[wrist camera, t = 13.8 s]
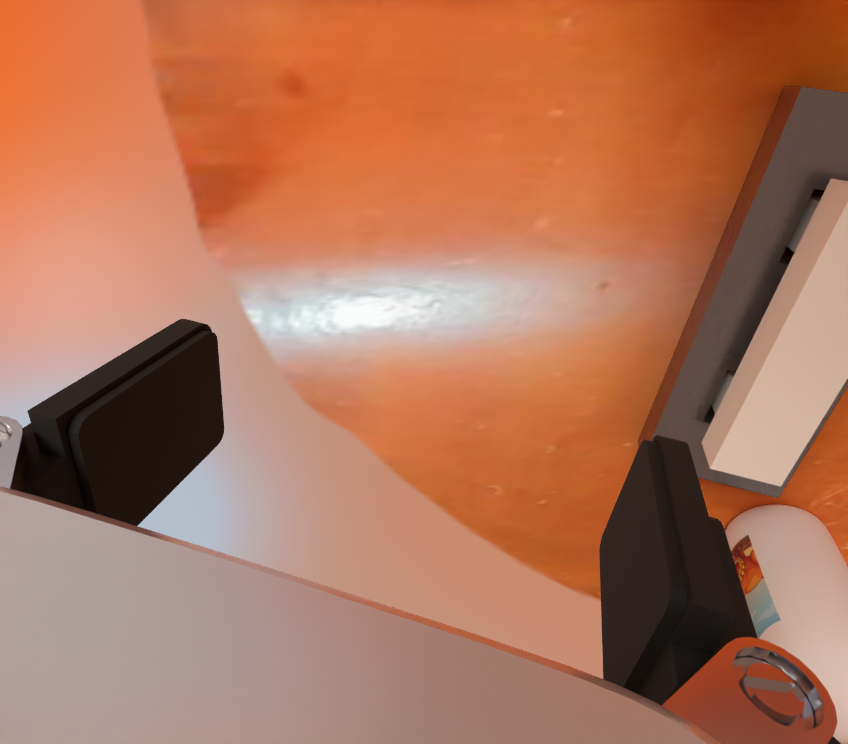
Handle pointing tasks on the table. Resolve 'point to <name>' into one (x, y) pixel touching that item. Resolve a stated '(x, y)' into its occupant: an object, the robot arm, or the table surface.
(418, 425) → the table surface
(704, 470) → the grey base board
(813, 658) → the milk bottle
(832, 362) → the white peg bar
